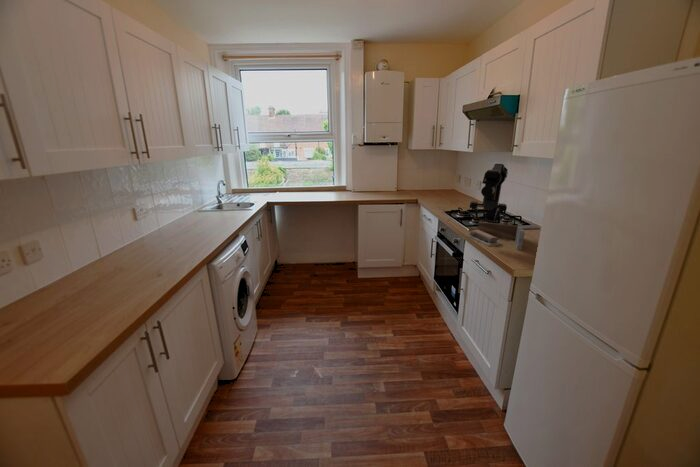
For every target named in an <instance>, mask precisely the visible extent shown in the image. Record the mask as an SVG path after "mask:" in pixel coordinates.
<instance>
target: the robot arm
mask: <svg viewBox="0 0 700 467" xmlns="http://www.w3.org/2000/svg"><path fill="white" fill-rule="evenodd" d="M508 174H509V173H508V168H507V167H505V164H503V163H494V165H493V167H492V168H491V169H488V170H486V171H485V172H484V177H483V180H482V182H481V183H482V184H484V186H483V187H482V188H481V190H480V193H481V196H483V199H482V203H480V202H478V201H473V200H471V201H470V203H469V209H471V210H473V211H474V213H475V218H476V221H478V217H479V216H478V215H479V214H478V213H479V211H478V210H479V208H483V210H487V211H486V212H485V214H484V222H488V223H497V224H501V221H502V220H501V219H502V216H501V213H504V212H507V210H508V208H507V207H508V205H507V204H506V203H499V201H500V196H501V189H502V186H503V183H504V182H505V181H506V179H507V178H508ZM478 207H479V208H478Z"/></svg>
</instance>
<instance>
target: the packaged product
mask: <svg viewBox="0 0 700 467" xmlns="http://www.w3.org/2000/svg"><path fill="white" fill-rule="evenodd" d="M467 238H469V239H471V240H474V241H476V242H477V243H480V244H482V245H484V246H486V247H491V246H492V247H494V246H500V245H502V242H500V241H498V239H499V237H494V236H492V235H490V234H488V233H485V232H483V231H481V230H478V228H476V229H472V230H470V232H469V234H467Z"/></svg>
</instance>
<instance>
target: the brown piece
mask: <svg viewBox="0 0 700 467" xmlns="http://www.w3.org/2000/svg"><path fill="white" fill-rule="evenodd" d="M477 229H478V230H481V231H483V232H485V233H488V234H490V235H492V236H494V237H497V238H503V239H510V240H514V242H515V246H516V250H517V251H522V250H523V249H522V248H523V244H524V239H525V234H526V233H525V230H524V227H523V223H517V225H513V224H505V223H504V224H503V223H499V224H497V223H488V222H485V221H478V224H477Z"/></svg>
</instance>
